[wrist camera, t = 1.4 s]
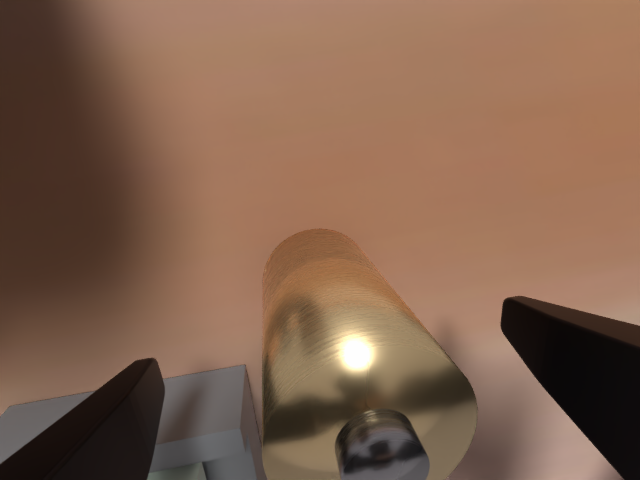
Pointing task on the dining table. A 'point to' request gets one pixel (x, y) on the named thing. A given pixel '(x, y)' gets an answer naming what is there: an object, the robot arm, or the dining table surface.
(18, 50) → the dining table surface
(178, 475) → the checker pad
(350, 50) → the dining table surface
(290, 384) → the cell bronze
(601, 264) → the dining table surface
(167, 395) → the base
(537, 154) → the dining table surface
